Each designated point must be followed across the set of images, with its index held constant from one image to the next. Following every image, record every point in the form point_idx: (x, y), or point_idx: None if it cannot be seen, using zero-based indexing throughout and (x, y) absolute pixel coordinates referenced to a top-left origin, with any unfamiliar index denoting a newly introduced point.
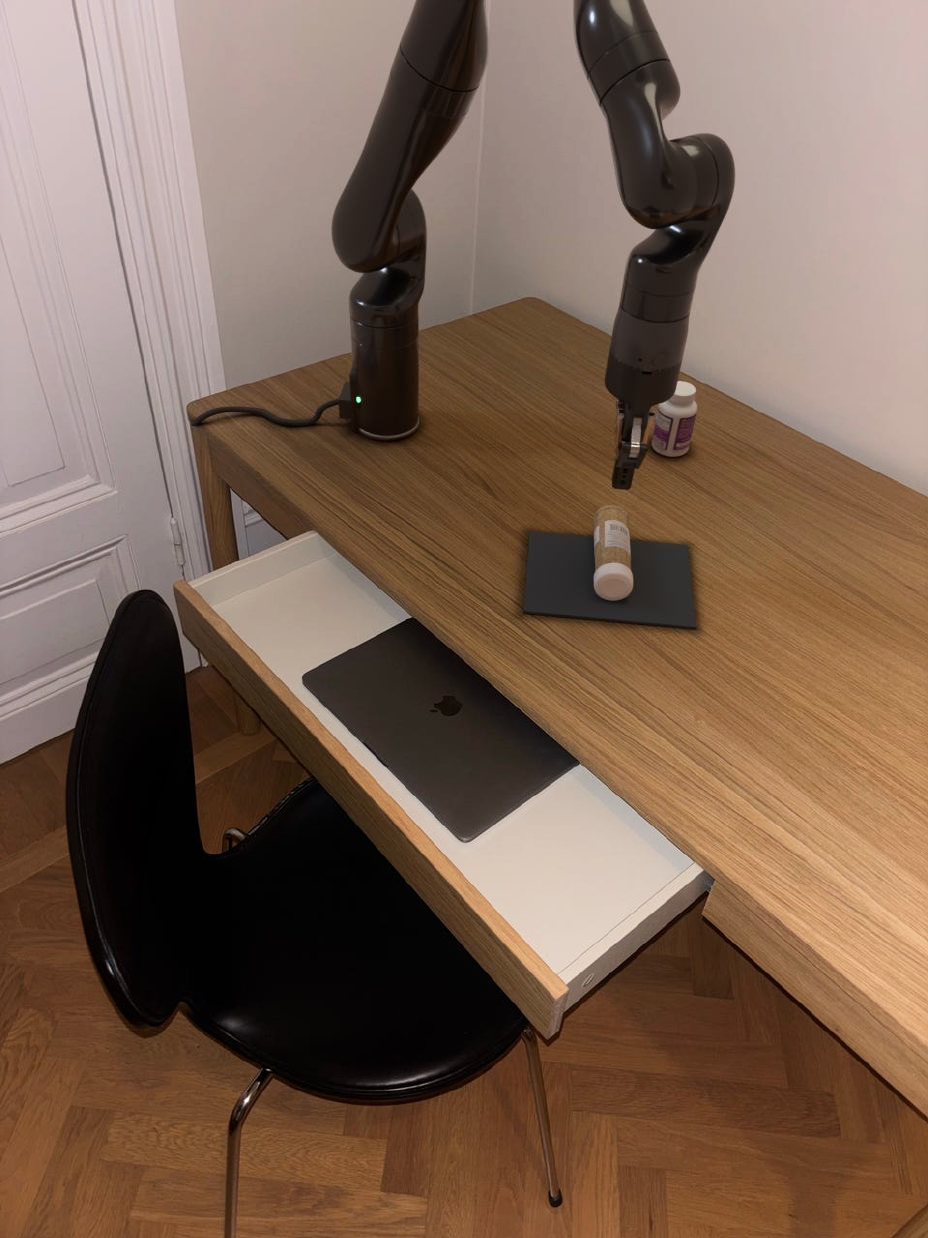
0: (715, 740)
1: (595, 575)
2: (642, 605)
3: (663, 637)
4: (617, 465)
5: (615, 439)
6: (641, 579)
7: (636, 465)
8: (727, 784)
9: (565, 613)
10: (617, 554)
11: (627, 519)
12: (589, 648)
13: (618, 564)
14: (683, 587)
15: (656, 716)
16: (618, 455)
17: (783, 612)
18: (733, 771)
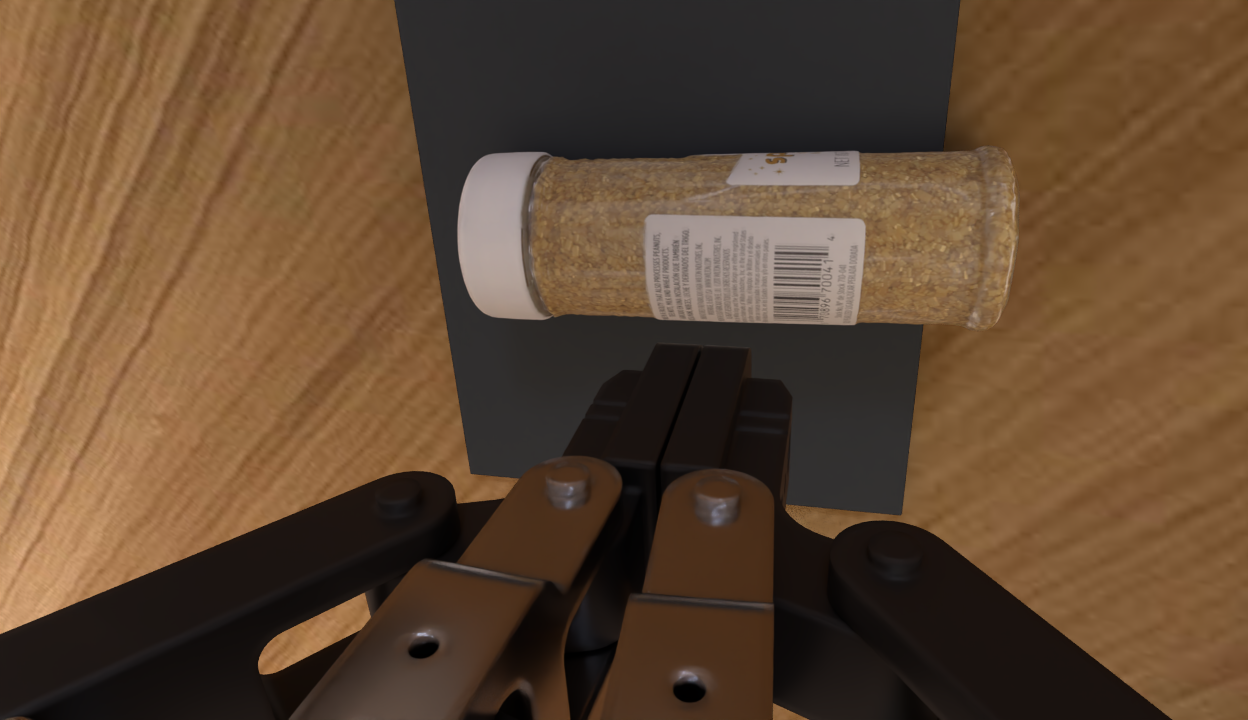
0: (119, 449)
1: (502, 164)
2: (526, 324)
3: (414, 373)
4: (340, 495)
5: (390, 613)
6: (666, 332)
7: (325, 651)
8: (21, 452)
9: (407, 30)
10: (590, 272)
11: (953, 324)
12: (288, 131)
13: (511, 274)
14: None
15: (122, 322)
16: (354, 549)
17: None
18: (58, 470)
